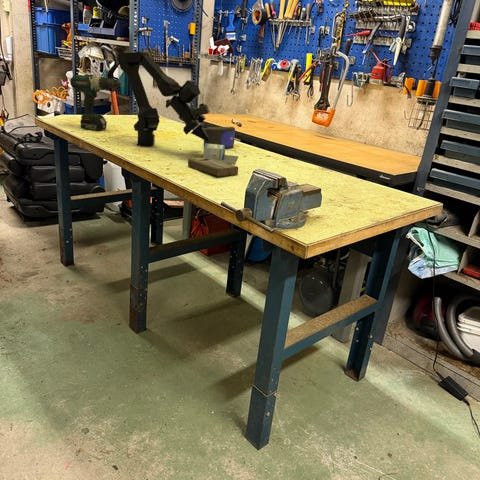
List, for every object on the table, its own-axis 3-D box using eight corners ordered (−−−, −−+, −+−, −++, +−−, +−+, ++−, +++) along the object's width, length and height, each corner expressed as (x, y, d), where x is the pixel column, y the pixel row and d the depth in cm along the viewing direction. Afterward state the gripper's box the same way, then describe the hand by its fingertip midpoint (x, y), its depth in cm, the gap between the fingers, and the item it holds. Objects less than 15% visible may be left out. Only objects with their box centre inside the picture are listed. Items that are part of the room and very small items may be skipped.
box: (216, 177, 150) (217, 168, 149) (186, 166, 161) (187, 158, 160) (238, 175, 157) (239, 166, 156) (208, 164, 168) (209, 156, 167)
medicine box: (203, 143, 180) (224, 144, 181) (203, 153, 182) (223, 155, 183) (203, 147, 173) (225, 148, 174) (203, 158, 175) (224, 159, 176)
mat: (202, 160, 172) (202, 159, 172) (208, 153, 184) (208, 152, 184) (234, 164, 171) (234, 163, 171) (238, 157, 184) (238, 156, 184)
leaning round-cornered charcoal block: (207, 150, 190) (209, 128, 186) (202, 147, 194) (203, 126, 190) (237, 149, 199) (239, 128, 195) (232, 146, 203) (234, 126, 199)
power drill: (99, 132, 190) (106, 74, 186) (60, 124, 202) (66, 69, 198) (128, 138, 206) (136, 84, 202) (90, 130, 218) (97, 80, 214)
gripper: (193, 98, 160) (220, 132, 164) (202, 94, 177) (226, 124, 181) (171, 117, 164) (198, 150, 168) (182, 111, 181) (206, 141, 185)
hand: (208, 140), depth 175 cm, fingers closed
